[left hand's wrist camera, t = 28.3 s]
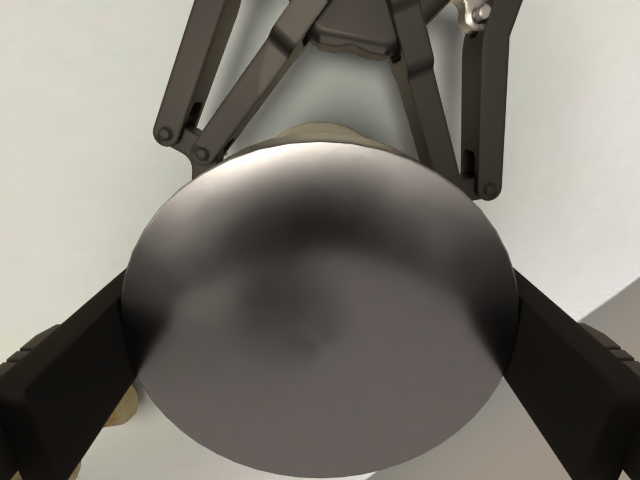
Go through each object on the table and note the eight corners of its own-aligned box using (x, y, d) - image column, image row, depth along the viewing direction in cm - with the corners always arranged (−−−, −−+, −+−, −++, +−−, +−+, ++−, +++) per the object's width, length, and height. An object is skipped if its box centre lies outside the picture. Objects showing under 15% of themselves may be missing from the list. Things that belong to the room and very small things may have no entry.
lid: (513, 371, 13) (550, 423, 11) (247, 452, 15) (234, 511, 13) (431, 67, 10) (464, 57, 8) (88, 216, 11) (33, 243, 9)
